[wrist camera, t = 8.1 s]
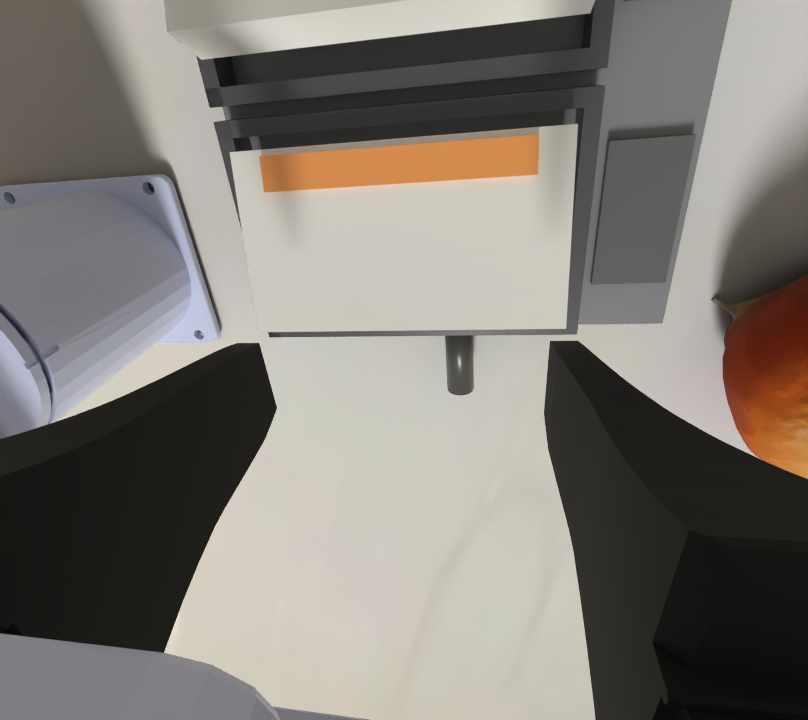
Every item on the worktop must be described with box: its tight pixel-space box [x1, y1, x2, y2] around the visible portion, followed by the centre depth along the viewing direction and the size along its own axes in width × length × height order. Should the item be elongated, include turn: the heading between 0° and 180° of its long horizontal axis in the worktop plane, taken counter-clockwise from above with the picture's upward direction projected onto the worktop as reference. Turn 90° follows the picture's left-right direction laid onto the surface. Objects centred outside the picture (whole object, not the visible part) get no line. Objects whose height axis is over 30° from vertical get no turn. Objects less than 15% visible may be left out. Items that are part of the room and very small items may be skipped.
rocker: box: [230, 124, 578, 332], centre depth 15 cm, size 10×6×2 cm, turn 95°
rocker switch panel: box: [197, 0, 732, 395], centre depth 14 cm, size 15×28×4 cm, turn 5°
